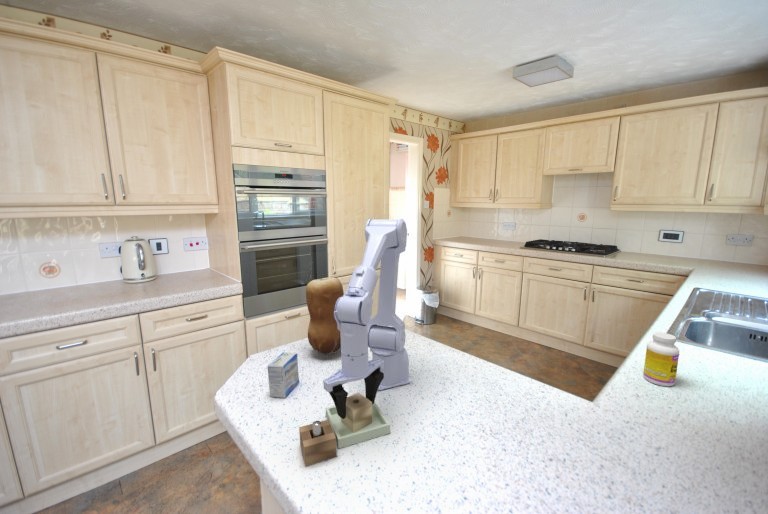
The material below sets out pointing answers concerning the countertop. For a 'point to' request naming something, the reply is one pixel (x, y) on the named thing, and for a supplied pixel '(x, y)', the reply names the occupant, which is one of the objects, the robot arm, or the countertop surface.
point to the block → (357, 412)
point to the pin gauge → (316, 429)
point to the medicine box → (283, 374)
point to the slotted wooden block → (317, 443)
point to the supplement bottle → (661, 360)
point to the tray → (368, 432)
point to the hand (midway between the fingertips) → (356, 409)
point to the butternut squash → (323, 314)
